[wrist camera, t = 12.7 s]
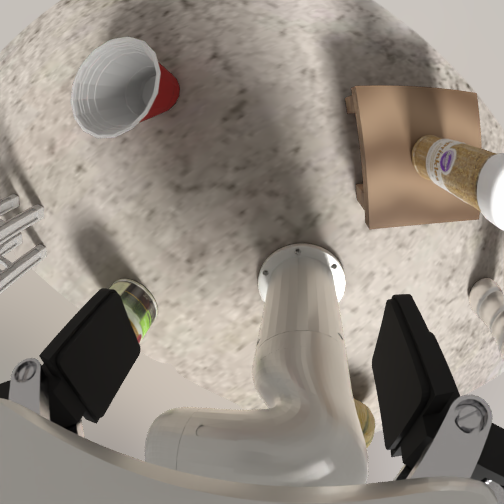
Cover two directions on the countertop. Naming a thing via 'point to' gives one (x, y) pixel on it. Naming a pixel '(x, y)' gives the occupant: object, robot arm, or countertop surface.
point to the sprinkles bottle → (464, 173)
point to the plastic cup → (121, 88)
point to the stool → (17, 240)
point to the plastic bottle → (489, 308)
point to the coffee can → (137, 305)
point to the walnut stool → (409, 151)
